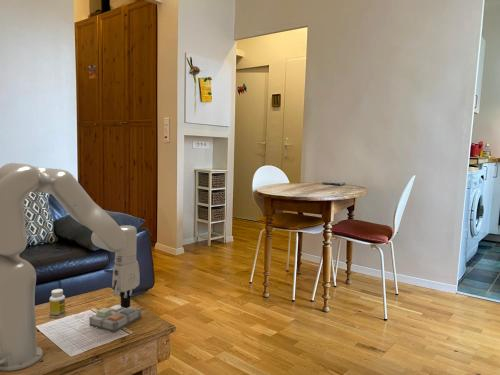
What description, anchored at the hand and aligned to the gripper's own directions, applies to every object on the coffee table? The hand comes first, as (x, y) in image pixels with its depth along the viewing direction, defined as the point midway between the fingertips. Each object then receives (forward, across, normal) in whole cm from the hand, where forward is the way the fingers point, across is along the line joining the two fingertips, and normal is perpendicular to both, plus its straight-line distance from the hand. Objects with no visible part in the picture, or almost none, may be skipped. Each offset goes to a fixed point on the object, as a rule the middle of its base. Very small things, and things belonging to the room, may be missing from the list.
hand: (125, 306), depth 146 cm
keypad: (+6, -2, +2) cm, 6 cm away
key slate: (+4, +1, 0) cm, 4 cm away
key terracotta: (+4, -5, 0) cm, 7 cm away
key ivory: (+4, +1, +5) cm, 7 cm away
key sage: (+3, -5, +5) cm, 8 cm away
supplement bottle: (+6, -8, +26) cm, 28 cm away
